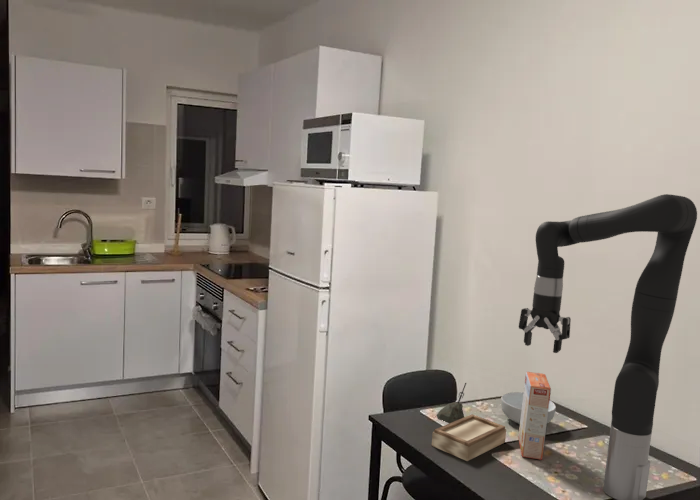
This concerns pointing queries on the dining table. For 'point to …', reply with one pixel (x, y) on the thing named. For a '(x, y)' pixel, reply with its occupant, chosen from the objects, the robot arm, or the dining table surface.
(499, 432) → the wooden box
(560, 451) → the dining table surface
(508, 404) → the cereal bowl
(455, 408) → the sword in stone
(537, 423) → the cracker box
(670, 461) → the dining table surface
